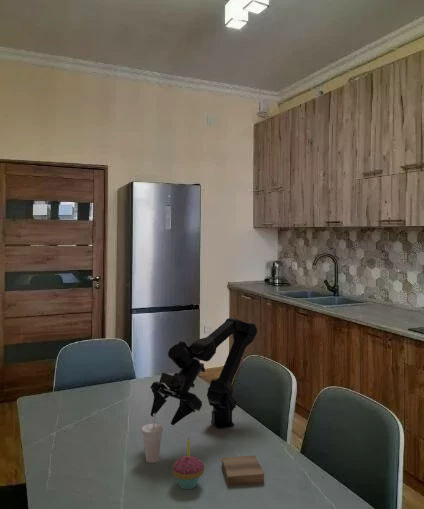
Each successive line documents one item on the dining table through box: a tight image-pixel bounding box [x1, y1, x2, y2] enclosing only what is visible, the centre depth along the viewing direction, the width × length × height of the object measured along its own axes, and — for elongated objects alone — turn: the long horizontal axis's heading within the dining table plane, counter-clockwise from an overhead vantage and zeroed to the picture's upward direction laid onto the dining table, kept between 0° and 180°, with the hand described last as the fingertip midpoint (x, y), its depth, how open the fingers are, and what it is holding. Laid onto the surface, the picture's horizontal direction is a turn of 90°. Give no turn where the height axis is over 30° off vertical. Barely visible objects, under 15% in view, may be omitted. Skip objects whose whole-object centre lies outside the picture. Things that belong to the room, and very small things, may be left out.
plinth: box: [221, 455, 265, 487], centre depth 120 cm, size 10×10×2 cm
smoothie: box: [141, 413, 164, 463], centre depth 127 cm, size 6×6×14 cm
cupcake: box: [172, 436, 205, 490], centre depth 114 cm, size 9×8×12 cm
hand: (161, 420), depth 130 cm, fingers open, 9 cm apart
